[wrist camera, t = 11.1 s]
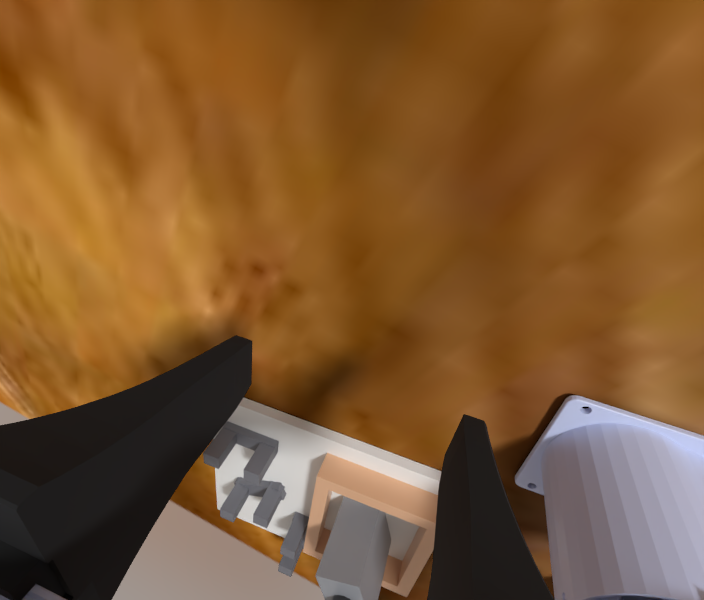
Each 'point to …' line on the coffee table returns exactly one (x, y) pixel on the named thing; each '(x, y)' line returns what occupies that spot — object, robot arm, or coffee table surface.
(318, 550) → the frame
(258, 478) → the board
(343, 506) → the block
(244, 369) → the robot arm
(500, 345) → the coffee table surface
